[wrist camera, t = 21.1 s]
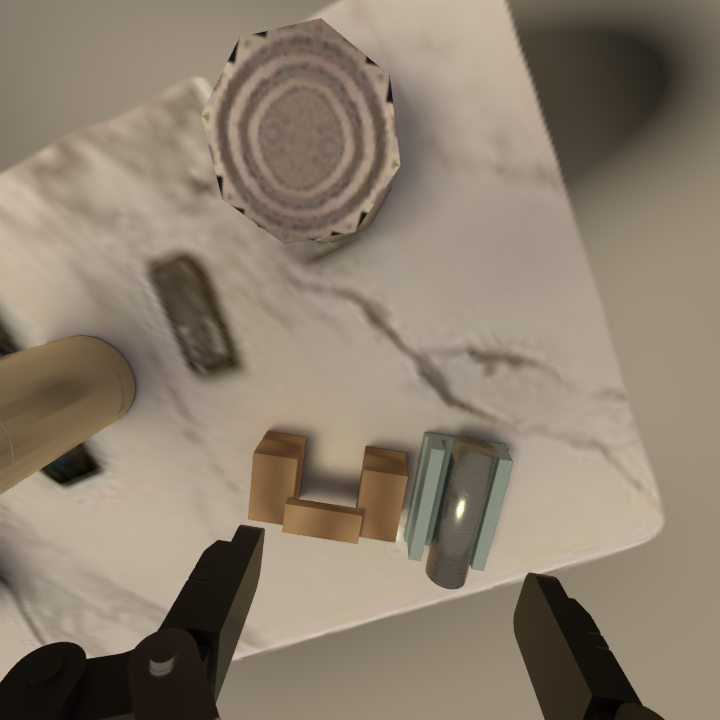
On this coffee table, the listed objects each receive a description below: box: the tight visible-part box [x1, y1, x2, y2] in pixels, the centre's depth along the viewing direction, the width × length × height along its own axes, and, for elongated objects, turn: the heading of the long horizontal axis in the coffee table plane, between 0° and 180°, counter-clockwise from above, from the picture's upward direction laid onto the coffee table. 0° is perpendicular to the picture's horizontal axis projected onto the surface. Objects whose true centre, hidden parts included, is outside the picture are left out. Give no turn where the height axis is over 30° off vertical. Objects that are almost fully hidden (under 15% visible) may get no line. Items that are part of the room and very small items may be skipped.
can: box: [201, 18, 400, 244], centre depth 30 cm, size 11×11×12 cm
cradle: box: [404, 432, 513, 571], centre depth 41 cm, size 8×12×4 cm, turn 172°
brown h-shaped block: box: [248, 431, 408, 544], centre depth 40 cm, size 14×7×6 cm, turn 82°
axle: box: [426, 437, 498, 589], centre depth 40 cm, size 14×4×4 cm, turn 172°
